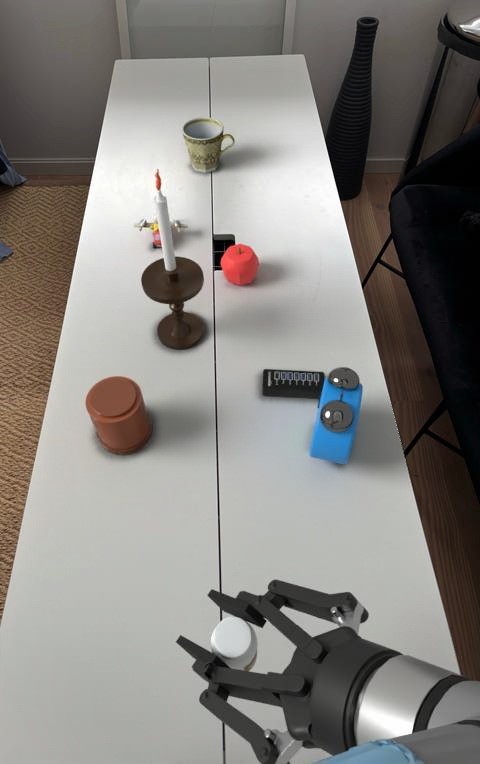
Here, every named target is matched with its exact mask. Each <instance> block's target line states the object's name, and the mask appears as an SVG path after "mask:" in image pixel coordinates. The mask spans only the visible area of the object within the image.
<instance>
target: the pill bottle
mask: <svg viewBox="0 0 480 764" xmlns="http://www.w3.org/2000/svg"><path fill="white" fill-rule="evenodd" d="M257 636H258V635H257V633H256V631H255V629H254V628H253V626H252V625H251V623H249V622H247V621H245V620H243V619H241V618H238V617H235V616H227V617H225V618H223V619H222V620H221V621H220V622H218V624H217V625H216V626H215V628H214V630H213V631H212V634H211V637H210V649H211V652H212V653H213V654H215V655H217V656H218V657H219V658H220V659H221V660H222V661H223V662H225V663H226V664H227V665H228V666H229V667H230V668H231V669H237V670H243V671H249V672H251V670H252V669H253V668H254V666H255V664H256V662H257V658H258V637H257Z"/></svg>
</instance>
